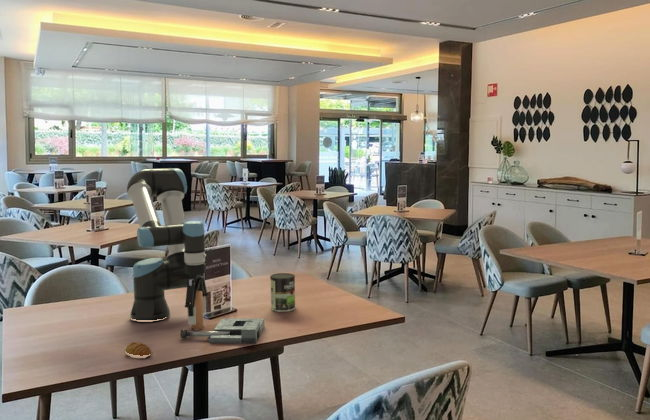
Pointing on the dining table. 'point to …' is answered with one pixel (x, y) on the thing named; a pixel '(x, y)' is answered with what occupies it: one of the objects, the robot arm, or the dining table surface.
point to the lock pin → (201, 333)
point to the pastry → (138, 349)
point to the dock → (238, 330)
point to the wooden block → (199, 311)
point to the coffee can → (282, 292)
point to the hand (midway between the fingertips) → (197, 318)
